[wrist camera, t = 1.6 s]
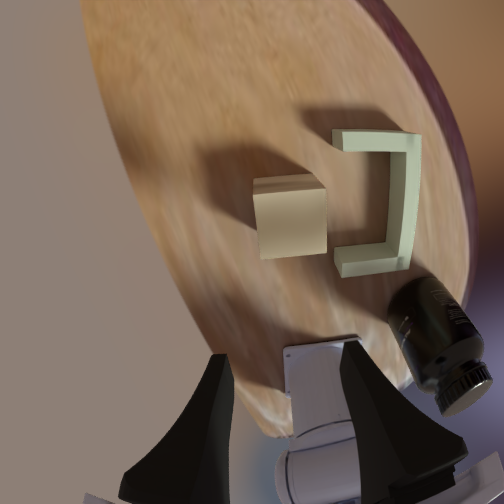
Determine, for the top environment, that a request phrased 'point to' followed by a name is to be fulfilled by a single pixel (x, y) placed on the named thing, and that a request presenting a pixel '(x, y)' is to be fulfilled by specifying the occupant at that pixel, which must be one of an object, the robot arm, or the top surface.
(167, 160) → the top surface
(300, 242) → the birch block
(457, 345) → the supplement bottle
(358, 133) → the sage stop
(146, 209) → the top surface
